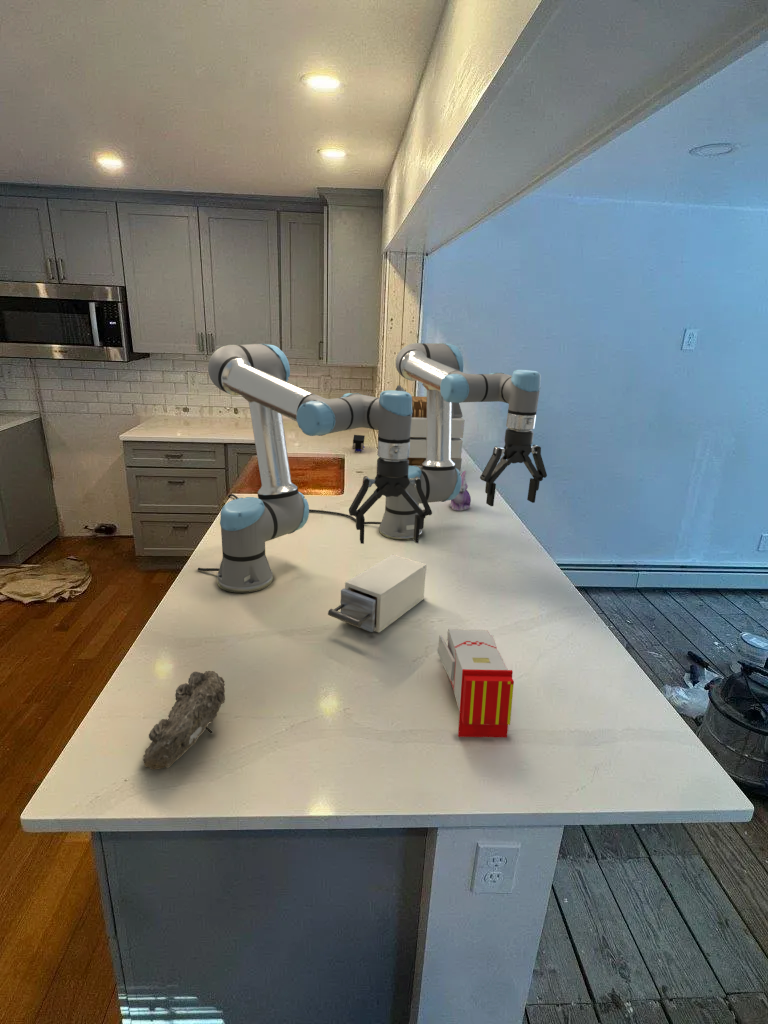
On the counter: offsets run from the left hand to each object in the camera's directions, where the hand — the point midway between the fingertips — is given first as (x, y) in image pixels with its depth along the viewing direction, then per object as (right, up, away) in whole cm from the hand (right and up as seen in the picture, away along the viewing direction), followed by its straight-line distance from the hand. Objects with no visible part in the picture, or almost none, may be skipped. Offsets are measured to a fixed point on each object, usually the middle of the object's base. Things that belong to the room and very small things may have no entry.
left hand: (389, 541), depth 141 cm
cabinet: (-1, -18, +9) cm, 20 cm away
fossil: (-37, -33, -36) cm, 61 cm away
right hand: (+35, +10, +20) cm, 41 cm away
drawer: (-4, -19, +4) cm, 20 cm away
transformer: (+16, +26, +134) cm, 138 cm away
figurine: (+30, +9, +89) cm, 94 cm away
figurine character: (-15, +41, +172) cm, 177 cm away
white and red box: (+17, -30, -22) cm, 41 cm away
